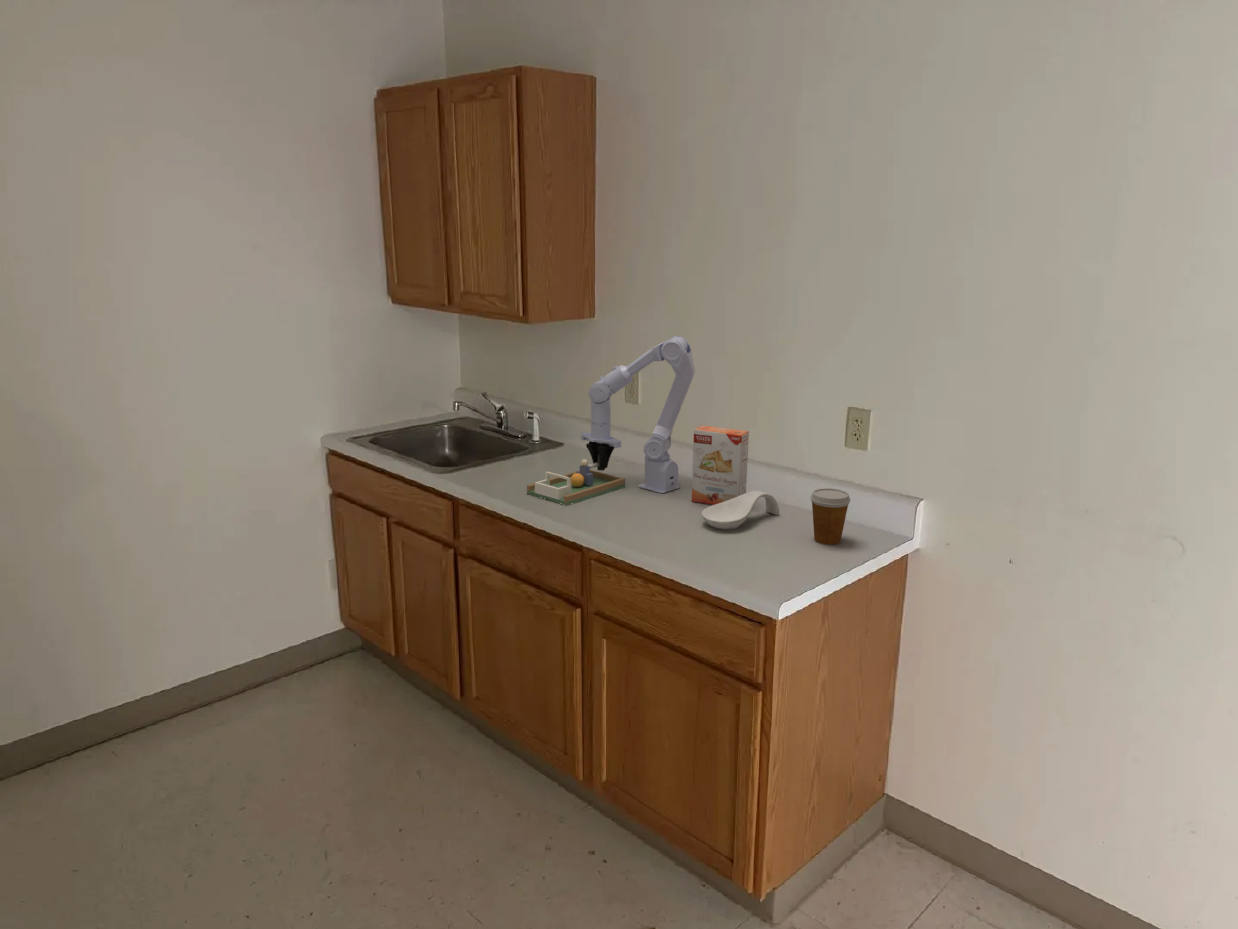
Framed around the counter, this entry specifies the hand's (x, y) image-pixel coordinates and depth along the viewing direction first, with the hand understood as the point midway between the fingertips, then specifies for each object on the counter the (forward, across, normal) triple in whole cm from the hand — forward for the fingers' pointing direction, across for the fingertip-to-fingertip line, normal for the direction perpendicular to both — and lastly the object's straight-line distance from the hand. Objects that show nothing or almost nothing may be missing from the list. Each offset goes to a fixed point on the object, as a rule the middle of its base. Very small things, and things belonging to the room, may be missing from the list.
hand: (600, 467), depth 264 cm
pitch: (+5, 0, -10) cm, 11 cm away
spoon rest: (+5, +50, 0) cm, 51 cm away
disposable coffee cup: (+5, +74, +3) cm, 74 cm away
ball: (+2, 0, -10) cm, 10 cm away
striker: (+3, 0, -3) cm, 5 cm away
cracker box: (+5, +37, +8) cm, 38 cm away
